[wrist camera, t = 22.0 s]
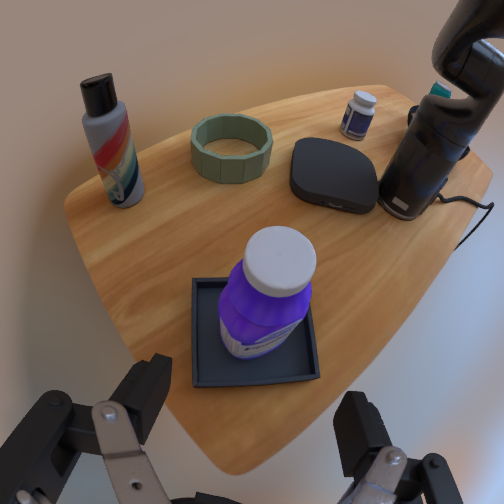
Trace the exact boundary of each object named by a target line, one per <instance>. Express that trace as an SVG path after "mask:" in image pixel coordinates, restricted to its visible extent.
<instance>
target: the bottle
mask: <svg viewBox="0 0 504 504" xmlns="http://www.w3.org/2000/svg"><path fill="white" fill-rule="evenodd" d="M315 267H316V254H315V251H314V248H313V246H312V244H311V243H310V241H309V240H308V239H307V238H306V237H305V236H304V235H303V234H301V233H300V232H298V231H296V230H294V229H292V228H289V227H284V226H270V227H266V228H263V229H261V230H260V231H258V232H256V233H255V234H254V235H253V236H252V237H251V238H250V240H249V241H248V243H247V246H246V249H245V254H244V258H243V259H242V260H241V261H240V262H238V263H237V265H236V266H235V267H234V268H233V270H232V271H231V273H230V276H229V279H228V284H227V285H226V286H225V288H224V289H223V291H222V292H221V294H220V297H219V301H218V316H219V327H220V335H221V337H222V342H223V344H224V345H225V347H226V349H227V350H228V351H229V352H230V353H231V354H232V355H233V356H234V357H236V358H238V359H243V360H249V359H254V358H258V357H260V356H263V355H265V354H267V353H269V352H271V351H273V350H274V349H276V348H277V347H279V346H280V345H281V344H282V343H283V342H284V341H285V340H286V338H287V337H288V335H289V334H290V333H291V332H292V331H293V329H294V328H295V327H296V326H297V325H298V323H299V322H301V321H302V320H303V318H304V317H305V315H306V313H307V311H308V308H309V302H310V299H311V294H312V290H311V283H310V279H311V277H312V275H313V273H314V271H315Z"/></svg>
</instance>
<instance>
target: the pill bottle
mask: <svg viewBox="0 0 504 504" xmlns="http://www.w3.org/2000/svg"><path fill="white" fill-rule="evenodd" d="M376 102H377V99H376V98H375V97H374V96H372V95H371V94H369V93H367V92H364V91H359V90H358V91H355V93H354V99H351V100H350V101H349V103H348V106H347V109H346V111H345V114H344V117H343V120H342V123H341V126H340V130H341V132H342V133H343V134H344V135H345V136H347V137H349V138H351V139H354V140H362V139H363V138H364V137H365V135H366V132H367V130H368V128H369V125H370V123H371V120H372V118H373V116H374V113H375V110H374V108H373V106H375V104H376Z"/></svg>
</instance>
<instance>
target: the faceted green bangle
mask: <svg viewBox="0 0 504 504" xmlns="http://www.w3.org/2000/svg"><path fill="white" fill-rule="evenodd" d="M221 138H238V139H241V140H244V141H247V142H249V143H252V144H254V145H255V146H256V147H257V148H258V149H259V151H256V152H253V153H250V154H247V155H244V156H222V155H219V154H217V153H214V152H211V151H208V150H205V149H204V148H203V147H204V146H205V145H206V144H207V143H209V142H212V141H215V140H218V139H221ZM272 145H273V138H272V134H271V130H270V129H269V128H268V127H267V126H266V125H265V124H263V123H262V122H261V121H260V120H258V119H255V118H252V117H249V116H246V115H243V114H218V115H215V116H211V117H208V118H204V119H203V120H202V121H201V122H199V123H198V124H197V125H196V126H194V127H193V128H192V134H191V156H192V165H193V166H194V167H195V169H196V170H197V171H198V172H199V174H200V175H201V176H202V177H205V178H208V179H210V180H213V181H215V182H218V183H221V184H242V183H245V182H248V181H250V180H253V179H255V178H258V177H260V176H261V175H262V173H263V172H264V171H265V169H266V168H267V166H268V165H269V160H270V155H271V150H272Z"/></svg>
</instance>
